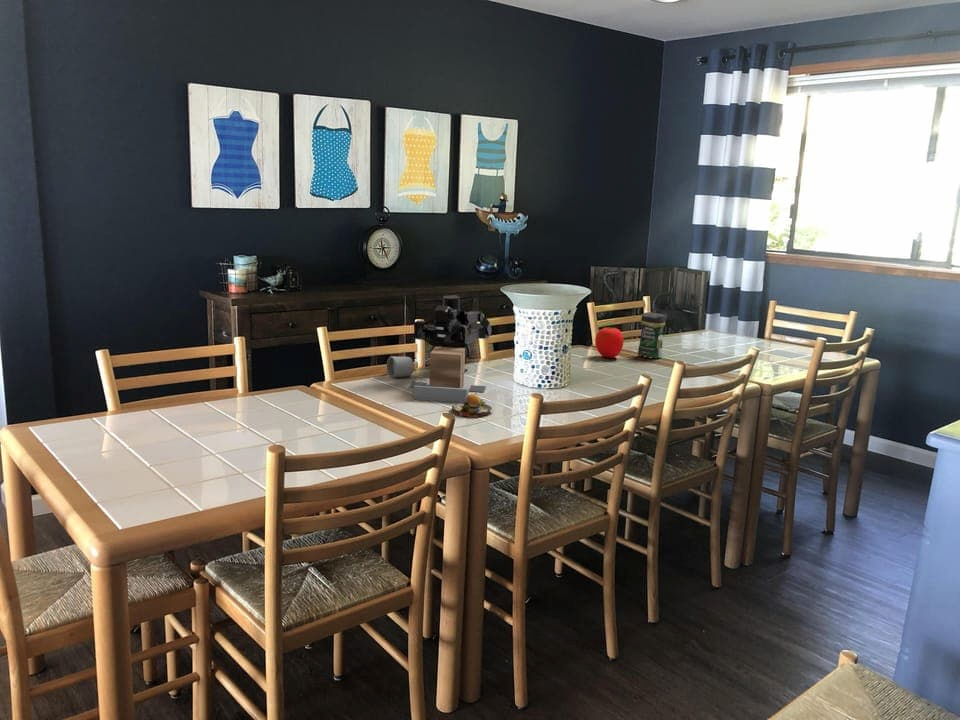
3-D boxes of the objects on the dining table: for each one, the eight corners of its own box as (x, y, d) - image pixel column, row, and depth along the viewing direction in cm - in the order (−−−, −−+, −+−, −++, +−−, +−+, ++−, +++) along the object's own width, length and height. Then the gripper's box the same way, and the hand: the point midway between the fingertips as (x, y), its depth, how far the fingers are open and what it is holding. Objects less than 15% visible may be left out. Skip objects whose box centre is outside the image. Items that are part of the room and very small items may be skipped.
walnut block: (434, 383, 264) (435, 346, 261) (463, 385, 263) (465, 347, 260) (429, 392, 252) (430, 353, 249) (459, 394, 251) (461, 355, 248)
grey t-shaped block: (418, 392, 251) (418, 380, 250) (469, 395, 250) (469, 383, 249) (413, 398, 243) (414, 386, 242) (466, 402, 242) (466, 389, 241)
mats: (412, 382, 264) (412, 381, 264) (485, 386, 262) (485, 386, 262) (408, 387, 257) (408, 387, 256) (483, 392, 254) (483, 391, 254)
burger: (492, 408, 237) (493, 384, 235) (491, 419, 225) (492, 394, 224) (452, 406, 237) (453, 383, 235) (450, 417, 226) (451, 392, 224)
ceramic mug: (415, 377, 271) (415, 357, 269) (395, 379, 267) (395, 358, 265) (401, 372, 279) (401, 351, 278) (381, 374, 275) (382, 353, 273)
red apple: (626, 357, 320) (629, 327, 318) (616, 361, 311) (618, 330, 309) (601, 353, 326) (603, 323, 323) (590, 357, 317) (592, 326, 314)
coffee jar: (634, 356, 324) (638, 312, 320) (644, 353, 330) (648, 310, 326) (655, 360, 317) (659, 315, 314) (664, 357, 323) (669, 313, 319)
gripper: (423, 302, 271) (404, 312, 257) (473, 306, 265) (457, 317, 251) (423, 333, 274) (405, 344, 260) (473, 338, 268) (457, 350, 254)
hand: (430, 338), depth 256 cm, fingers open, 9 cm apart
